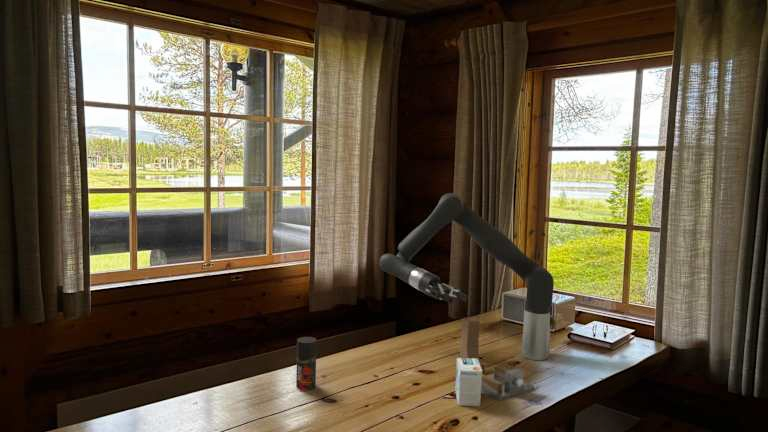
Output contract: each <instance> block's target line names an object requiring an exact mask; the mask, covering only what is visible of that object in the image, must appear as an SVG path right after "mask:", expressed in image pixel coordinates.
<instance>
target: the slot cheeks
mask: <svg viewBox="0 0 768 432" xmlns="http://www.w3.org/2000/svg"><path fill="white" fill-rule="evenodd" d="M506 371H510V369H507V368H504V367H502V366H501V365H497V366H494V370H493V374H495V375H497V376H499V377H501V378H504V379H505V372H506ZM523 380H524V381H525V376H523ZM502 384H503V383H501V382H498V381H496V380H494V379H492V378H490V377H488V376H487V375H485V374H484V375H483V374H482V383H481V385H483V386H485V387H487V388H489V389H491V390H493V391H495V392H497V393H498V392H501V391H502Z"/></svg>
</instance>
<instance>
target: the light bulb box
mask: <svg viewBox="0 0 768 432" xmlns="http://www.w3.org/2000/svg"><path fill="white" fill-rule="evenodd" d="M481 383H482V369H481V366H480V363H479V361H478V359H476V358H460V357H456V369H455V389H454V392H455V397H456V402H457V405H458V406H468V407H480V406H481V400H482V399H481V398H482V397H481V396H482V392H481Z"/></svg>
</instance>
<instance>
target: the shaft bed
mask: <svg viewBox="0 0 768 432" xmlns="http://www.w3.org/2000/svg"><path fill="white" fill-rule="evenodd" d="M509 370H510V369H509ZM524 372H525V371H524V370H523V369H521V368H515V369H511V370H510V371H506V372H505V379H504V378H501V377H499V376H497V375H495V374H494V373H490V374H487V375H486V376H488V377H490V378H492V379H494V380H496V381H498V382H501V383H503V384H502V391H501V392H498V393H497V392H495V391H493V390H491V389H489V388H487V387H485V386H483V385H481V393H484V394H486V395H488V396H489V397H491V398H494V399H496V400H497V401H501V400H504V399H508V398H511V397H513V396H516V395H519V394H520V395H521V394H523V393H526V392H530V391H533V390H535V385H533V384H531V383H528V382H526V381H525V379H524V380H523V377H524Z"/></svg>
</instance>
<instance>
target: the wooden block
mask: <svg viewBox="0 0 768 432" xmlns="http://www.w3.org/2000/svg"><path fill="white" fill-rule="evenodd" d="M460 333H461V335H460V357H459V358H476V359H478V361H479V363H480V366H481V369H482V374H483V375H485V366H486V365H485V362H483V361H482V360H481V357H480V354H479V337H480V320H479V319H477V318H475V317H473V316H472V317H462V318H461V331H460Z"/></svg>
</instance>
